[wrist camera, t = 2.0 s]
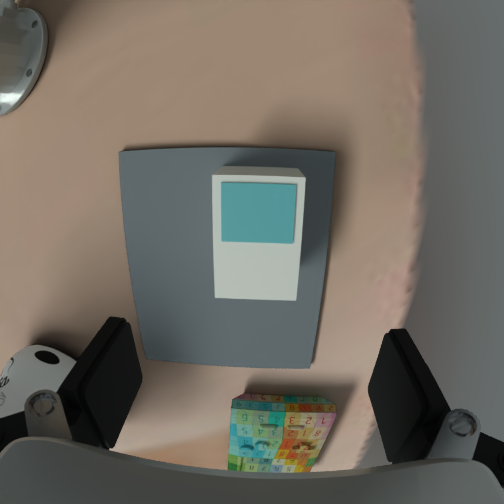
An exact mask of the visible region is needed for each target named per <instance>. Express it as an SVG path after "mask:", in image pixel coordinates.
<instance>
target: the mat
mask: <svg viewBox="0 0 504 504" xmlns="http://www.w3.org/2000/svg"><path fill="white" fill-rule="evenodd" d="M335 155H336V152H331V151H319V150H304V149H285V148H257V147H191V148H163V149H145V150H130V151H120V152H119V172H120V188H121V201H122V212H123V222H124V231H125V240H126V248H127V256H128V263H129V270H130V277H131V283H132V289H133V295H134V301H135V307H136V312H137V317H138V323H139V328H140V333H141V337H142V342H143V347H144V351H145V356H146V359H152V360H161V361H170V362H179V363H189V364H201V365H214V366H229V367H250V368H293V369H305V368H310V366H311V360H312V354H313V348H314V342H315V336H316V330H317V324H318V317H319V310H320V303H321V296H322V289H323V282H324V274H325V266H326V257H327V248H328V239H329V230H330V220H331V209H332V197H333V185H334V171H335ZM222 166H255V167H284V168H298V169H299V170H300V171H301V173H302V174H303V175H304V176H305V177H306V181H305V197H304V213H303V227H302V240H301V253H300V264H299V276H298V287H297V297H296V301H290V300H256V299H230V298H215V288H214V258H213V215H212V174H214V173H215V172H216V171H217V170H218V169H219V168H220V167H222Z"/></svg>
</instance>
